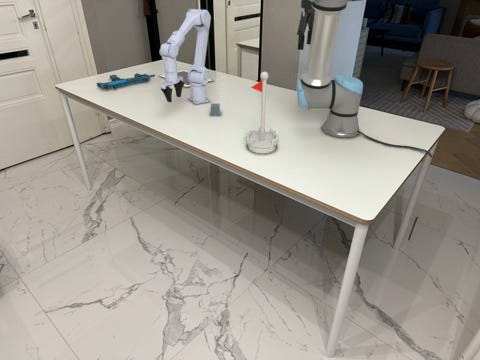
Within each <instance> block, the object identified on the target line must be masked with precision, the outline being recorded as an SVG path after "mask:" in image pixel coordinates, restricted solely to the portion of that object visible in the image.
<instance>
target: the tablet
mask: <svg viewBox="0 0 480 360" xmlns="http://www.w3.org/2000/svg"><path fill="white" fill-rule="evenodd" d="M189 71H190V70H187V69H182V70H181V69H180V70H177V74H178V77H179V76H180V77H183V81H182V82H184V86H183V88H190V86H191V84H190V82H189V81H188V73H189ZM158 76H159V77H161V78H163V79H164V80H165V79H166V77H165V73H163V74H158ZM210 82H214V80H213V79H211V78H209V80H208V83H210Z"/></svg>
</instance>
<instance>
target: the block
mask: <svg viewBox="0 0 480 360" xmlns="http://www.w3.org/2000/svg"><path fill="white" fill-rule="evenodd" d="M220 115H221V103H216V102H215V103H214V102H213V103H212V102H211V103H210V116H216V117H217V116H219V117H220Z"/></svg>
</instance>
